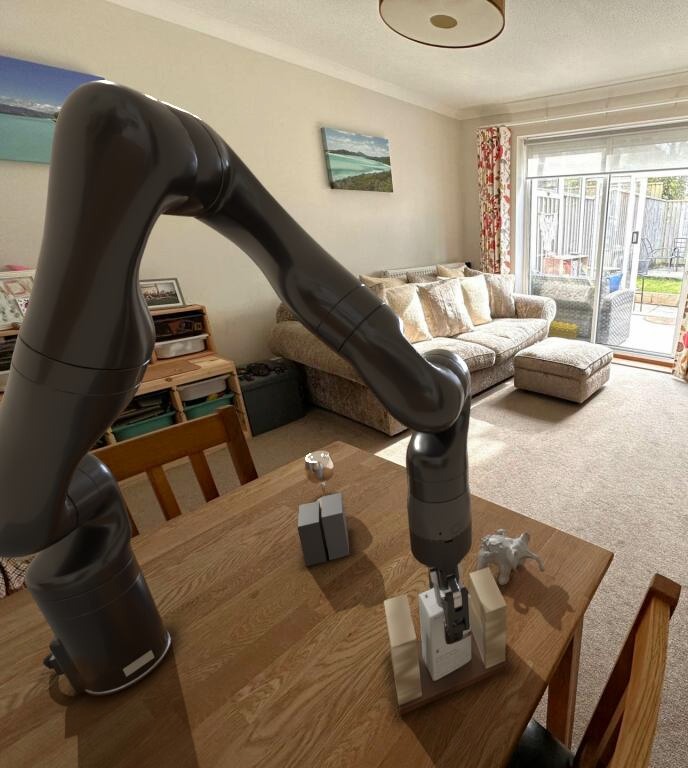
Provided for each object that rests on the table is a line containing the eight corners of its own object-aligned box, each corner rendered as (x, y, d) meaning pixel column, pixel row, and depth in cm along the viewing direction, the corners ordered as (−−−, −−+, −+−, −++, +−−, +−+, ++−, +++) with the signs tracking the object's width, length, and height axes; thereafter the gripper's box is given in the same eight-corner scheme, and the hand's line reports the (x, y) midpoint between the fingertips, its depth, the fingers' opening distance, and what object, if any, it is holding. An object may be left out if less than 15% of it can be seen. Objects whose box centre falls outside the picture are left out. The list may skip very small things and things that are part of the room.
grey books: (306, 566, 74) (296, 523, 70) (307, 543, 80) (298, 501, 76) (349, 554, 77) (342, 512, 73) (347, 532, 82) (341, 492, 79)
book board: (400, 715, 52) (391, 651, 48) (391, 658, 59) (383, 597, 54) (506, 669, 58) (508, 608, 53) (487, 622, 65) (487, 564, 60)
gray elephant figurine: (481, 550, 79) (480, 519, 76) (542, 553, 78) (544, 522, 76) (474, 590, 70) (474, 556, 67) (543, 594, 70) (545, 560, 67)
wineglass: (345, 499, 92) (337, 454, 88) (322, 513, 88) (313, 466, 83) (329, 490, 95) (321, 446, 91) (306, 504, 90) (297, 458, 86)
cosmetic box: (433, 683, 55) (428, 620, 50) (421, 656, 58) (415, 594, 54) (473, 659, 58) (472, 597, 53) (459, 634, 61) (457, 574, 57)
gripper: (399, 488, 53) (407, 580, 59) (421, 568, 41) (429, 673, 47) (454, 476, 56) (457, 565, 62) (490, 547, 44) (489, 649, 50)
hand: (445, 611), depth 54 cm, fingers open, 8 cm apart
